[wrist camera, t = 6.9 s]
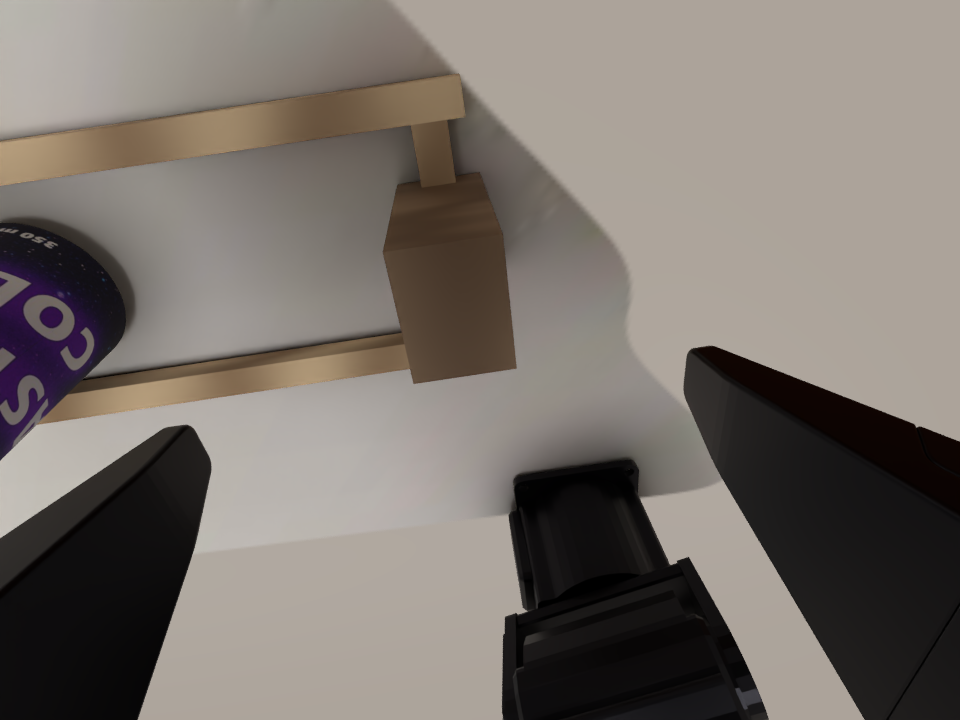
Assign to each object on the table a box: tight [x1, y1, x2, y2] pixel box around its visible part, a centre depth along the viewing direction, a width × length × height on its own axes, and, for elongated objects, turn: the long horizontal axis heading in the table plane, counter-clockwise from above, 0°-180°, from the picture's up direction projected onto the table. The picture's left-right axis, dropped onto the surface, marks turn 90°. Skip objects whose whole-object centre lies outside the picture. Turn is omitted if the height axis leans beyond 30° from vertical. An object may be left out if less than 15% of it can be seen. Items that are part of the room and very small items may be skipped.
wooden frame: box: [0, 74, 517, 425], centre depth 17 cm, size 21×10×7 cm, turn 97°
